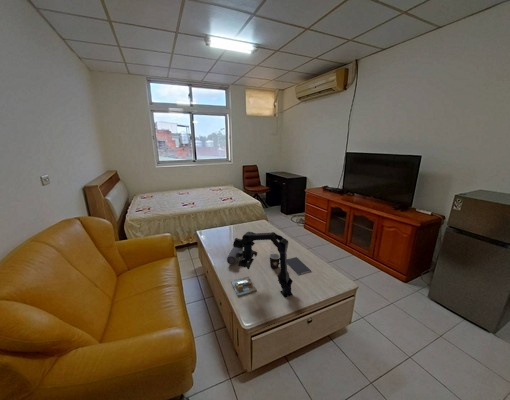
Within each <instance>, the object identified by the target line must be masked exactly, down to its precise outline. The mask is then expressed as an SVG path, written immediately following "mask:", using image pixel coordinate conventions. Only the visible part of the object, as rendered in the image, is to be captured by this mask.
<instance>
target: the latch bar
mask: <svg viewBox="0 0 510 400" xmlns="http://www.w3.org/2000/svg"><path fill="white" fill-rule="evenodd" d="M251 281H252V279H251V278H250V279H247V280H244V281H239V282H238V286H240V285H243V286H245V285H251Z"/></svg>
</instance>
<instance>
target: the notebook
mask: <svg viewBox="0 0 510 400" xmlns="http://www.w3.org/2000/svg"><path fill="white" fill-rule="evenodd" d="M287 267H289V268H290V269H291V270H292V271H293V272H294V273H295V274H296V275H297V276H298V275H303V274H306V273H309V272H312V270H311V269H310V268H309V267H308V266H307V265H306V264H305V263H304V262H303V261H302V260H300V259H299V257H297V256H296V257H292V258H287Z"/></svg>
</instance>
